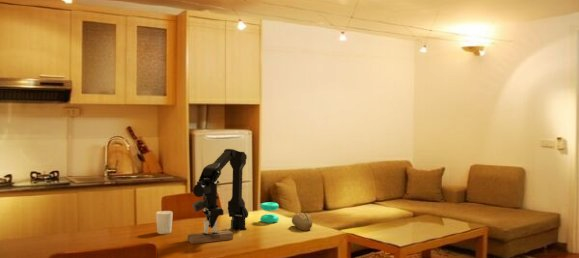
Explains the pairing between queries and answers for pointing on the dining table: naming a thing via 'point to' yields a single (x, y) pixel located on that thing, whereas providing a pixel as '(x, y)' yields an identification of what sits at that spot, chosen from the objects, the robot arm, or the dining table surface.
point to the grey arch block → (207, 222)
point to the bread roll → (302, 221)
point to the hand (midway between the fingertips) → (210, 227)
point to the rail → (210, 237)
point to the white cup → (164, 222)
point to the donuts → (269, 217)
